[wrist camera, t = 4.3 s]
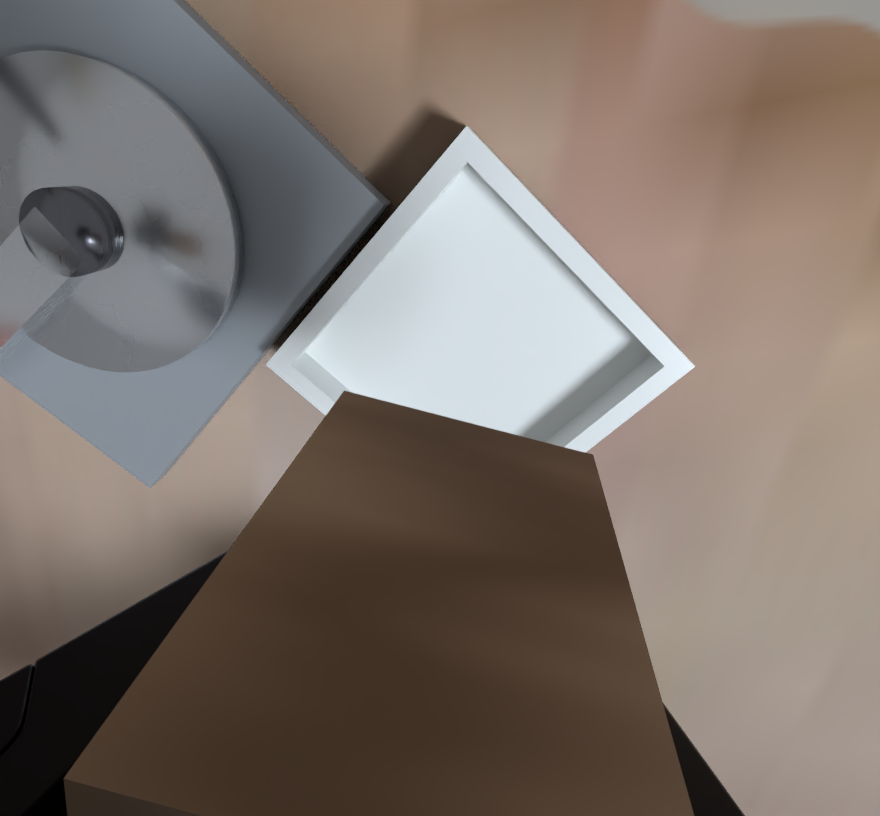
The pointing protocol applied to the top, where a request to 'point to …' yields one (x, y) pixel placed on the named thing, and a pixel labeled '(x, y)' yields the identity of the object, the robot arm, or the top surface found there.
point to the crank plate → (260, 205)
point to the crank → (109, 217)
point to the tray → (482, 316)
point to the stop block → (401, 646)
